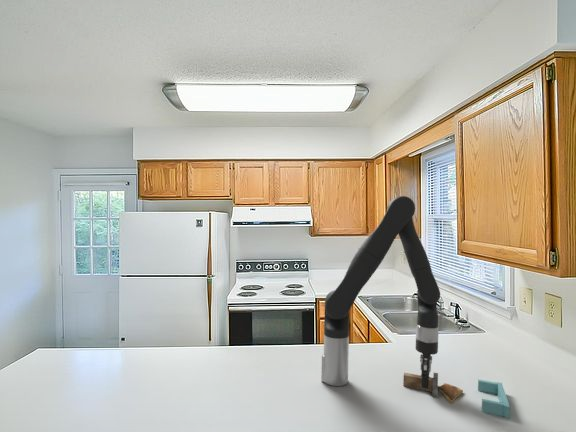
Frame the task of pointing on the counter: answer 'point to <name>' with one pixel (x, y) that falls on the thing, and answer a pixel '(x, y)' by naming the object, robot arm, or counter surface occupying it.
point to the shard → (450, 391)
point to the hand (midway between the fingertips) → (425, 385)
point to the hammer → (416, 382)
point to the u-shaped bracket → (493, 406)
